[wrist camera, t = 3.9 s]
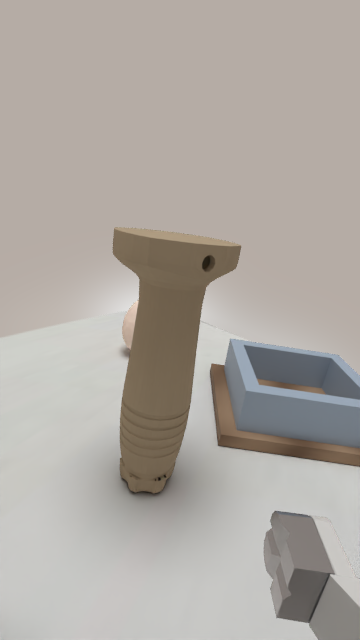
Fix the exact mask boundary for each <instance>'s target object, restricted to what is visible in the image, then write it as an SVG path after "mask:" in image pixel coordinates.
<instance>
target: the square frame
mask: <svg viewBox="0 0 360 640" xmlns="http://www.w3.org/2000/svg"><path fill="white" fill-rule="evenodd" d="M224 371H225V376H226V381H227V386H228V391H229V395H230V400H231V405H232V410H233V415H234V420H235V425H236V430H239V431H246V432H253V433H259V434H266V435H273V436H280V437H287V438H293V439H300V440H307V441H314V442H320V443H327V444H334V445H341V446H348V447H354V448H360V376H359V375H358V374H357V373H356V372H355V371H354V370H353V369H352V368H351V367H350V366H349V365H348V364H347V363H346V362H345V361H344V360H343V359H342V358H341V357H340V356H339V355H335V354H329V353H322V352H315V351H309V350H302V349H295V348H289V347H282V346H276V345H268V344H262V343H256V342H249V341H242V340H236V339H230V343H229V347H228V352H227V357H226V362H225V366H224ZM257 379H262V380H269V381H276V382H282V383H289V384H296V385H303V386H309V387H316V388H322V389H323V391H324V392H325V394H326V395H324V394H317V393H311V392H304V391H297V390H291V389H284V388H277V387H270V386H264V385H259V383H258V381H257Z"/></svg>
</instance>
